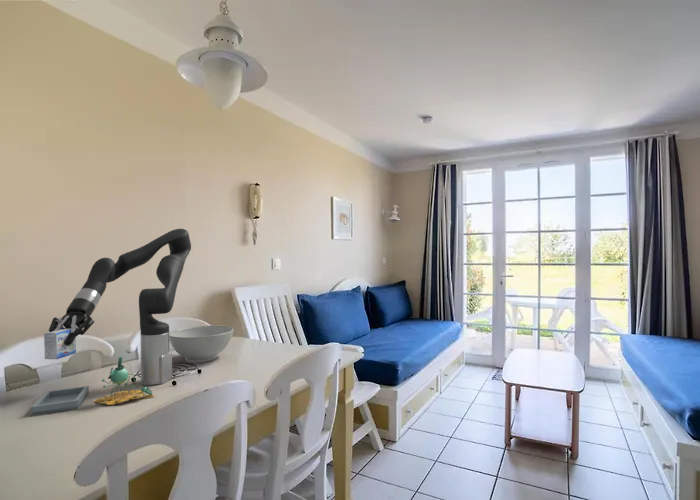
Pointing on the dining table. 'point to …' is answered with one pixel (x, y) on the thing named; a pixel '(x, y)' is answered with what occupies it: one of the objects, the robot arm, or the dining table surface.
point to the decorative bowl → (200, 341)
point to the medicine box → (58, 344)
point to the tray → (60, 400)
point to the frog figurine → (118, 378)
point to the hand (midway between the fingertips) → (58, 344)
